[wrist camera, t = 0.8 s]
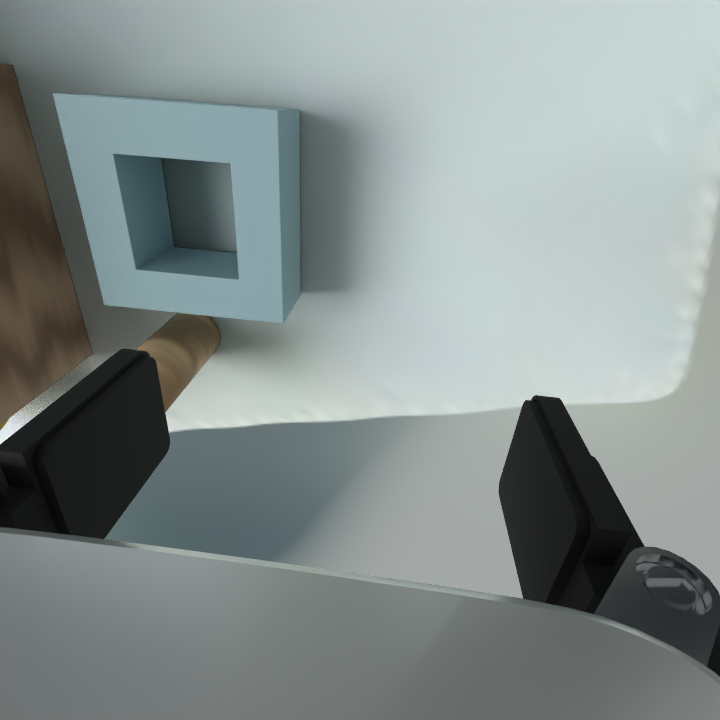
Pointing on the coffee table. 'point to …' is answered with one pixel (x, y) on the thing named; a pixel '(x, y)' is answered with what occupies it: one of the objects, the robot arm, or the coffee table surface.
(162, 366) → the dowel
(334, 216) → the coffee table surface
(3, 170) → the wall
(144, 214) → the socket block
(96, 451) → the robot arm
